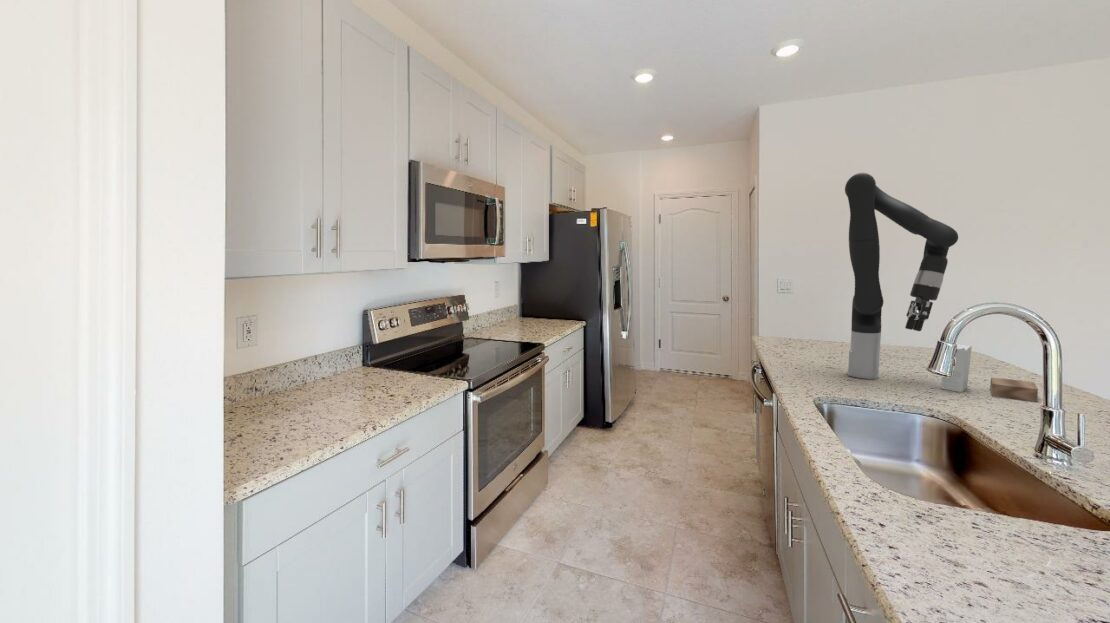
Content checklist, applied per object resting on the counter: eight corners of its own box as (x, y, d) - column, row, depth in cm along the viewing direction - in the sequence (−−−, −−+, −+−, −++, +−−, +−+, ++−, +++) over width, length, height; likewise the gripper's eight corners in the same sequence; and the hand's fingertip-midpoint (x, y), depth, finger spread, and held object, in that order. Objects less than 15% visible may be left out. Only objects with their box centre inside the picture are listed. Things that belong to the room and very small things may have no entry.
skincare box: (945, 384, 160) (949, 342, 158) (968, 387, 155) (972, 345, 153) (940, 389, 154) (943, 346, 153) (963, 392, 150) (967, 348, 148)
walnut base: (991, 396, 146) (992, 383, 145) (990, 388, 153) (991, 377, 153) (1036, 402, 139) (1038, 389, 139) (1032, 394, 147) (1033, 382, 146)
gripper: (907, 283, 166) (894, 326, 168) (921, 282, 153) (906, 328, 155) (932, 288, 164) (918, 331, 165) (948, 287, 150) (932, 334, 152)
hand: (912, 329), depth 160 cm, fingers open, 8 cm apart
